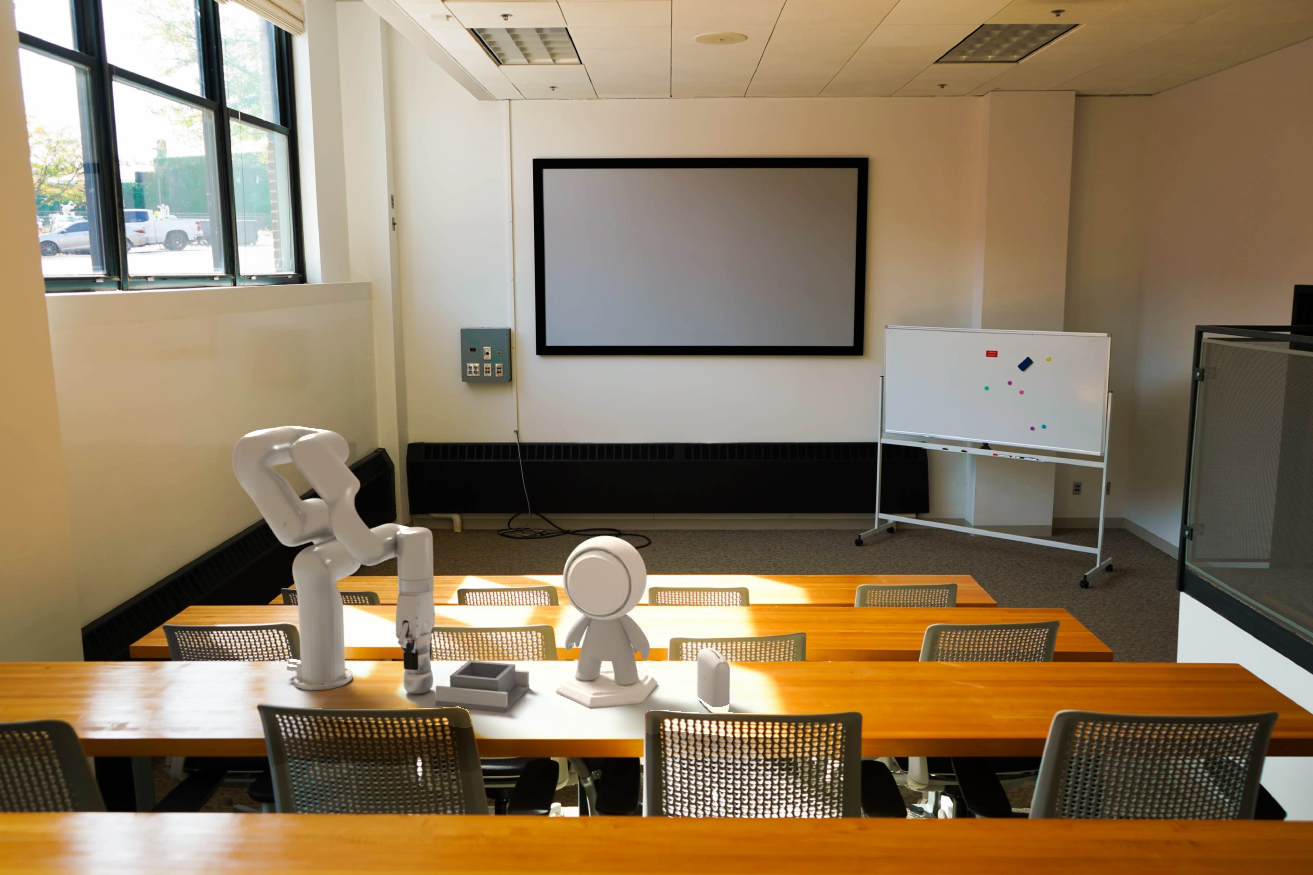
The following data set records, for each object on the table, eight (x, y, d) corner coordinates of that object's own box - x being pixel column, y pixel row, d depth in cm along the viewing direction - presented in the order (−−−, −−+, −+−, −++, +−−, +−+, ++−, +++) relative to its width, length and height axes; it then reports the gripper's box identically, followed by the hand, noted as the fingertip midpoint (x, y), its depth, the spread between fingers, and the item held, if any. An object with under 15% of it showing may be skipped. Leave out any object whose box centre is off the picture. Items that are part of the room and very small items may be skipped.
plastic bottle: (437, 687, 218) (435, 600, 215) (427, 698, 211) (425, 608, 209) (409, 685, 218) (407, 599, 216) (398, 697, 212) (396, 607, 209)
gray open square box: (435, 705, 207) (435, 678, 207) (462, 681, 221) (462, 656, 220) (505, 712, 204) (505, 684, 203) (529, 688, 217) (529, 662, 217)
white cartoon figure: (545, 702, 209) (544, 543, 205) (583, 666, 231) (583, 522, 227) (633, 713, 204) (634, 550, 200) (664, 675, 226) (665, 528, 221)
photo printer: (694, 699, 212) (695, 644, 210) (712, 696, 213) (713, 642, 212) (713, 717, 202) (714, 659, 201) (732, 714, 204) (732, 657, 202)
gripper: (418, 573, 221) (420, 650, 223) (380, 593, 204) (382, 676, 207) (448, 575, 219) (450, 653, 221) (413, 596, 203) (415, 679, 205)
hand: (417, 663), depth 214 cm, fingers closed on plastic bottle, 5 cm apart
